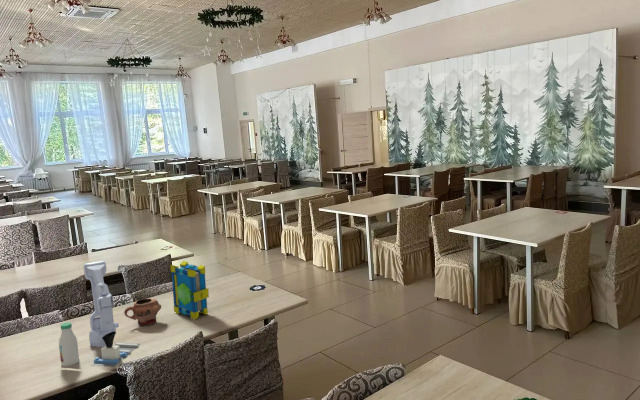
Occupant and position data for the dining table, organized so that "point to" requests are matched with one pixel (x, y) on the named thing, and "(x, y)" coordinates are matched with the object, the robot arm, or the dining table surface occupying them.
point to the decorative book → (189, 289)
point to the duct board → (124, 351)
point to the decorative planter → (144, 311)
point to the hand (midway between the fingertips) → (109, 347)
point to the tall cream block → (110, 352)
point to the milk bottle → (68, 346)
